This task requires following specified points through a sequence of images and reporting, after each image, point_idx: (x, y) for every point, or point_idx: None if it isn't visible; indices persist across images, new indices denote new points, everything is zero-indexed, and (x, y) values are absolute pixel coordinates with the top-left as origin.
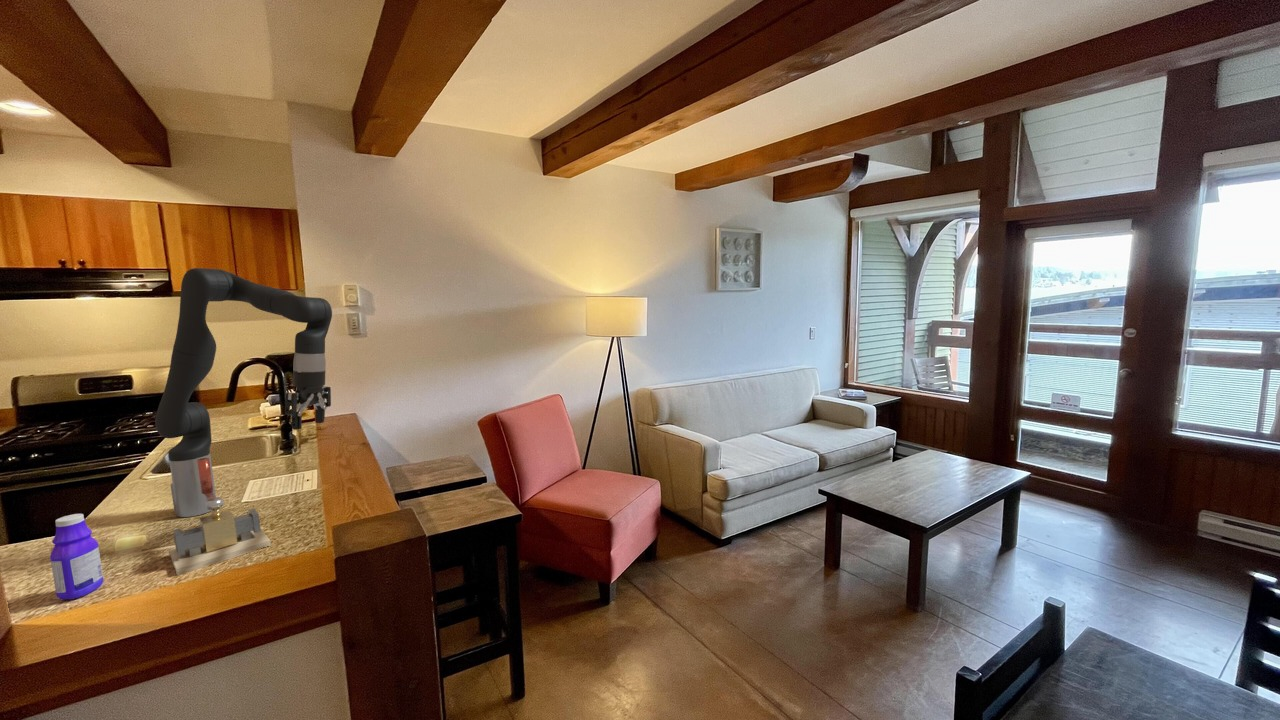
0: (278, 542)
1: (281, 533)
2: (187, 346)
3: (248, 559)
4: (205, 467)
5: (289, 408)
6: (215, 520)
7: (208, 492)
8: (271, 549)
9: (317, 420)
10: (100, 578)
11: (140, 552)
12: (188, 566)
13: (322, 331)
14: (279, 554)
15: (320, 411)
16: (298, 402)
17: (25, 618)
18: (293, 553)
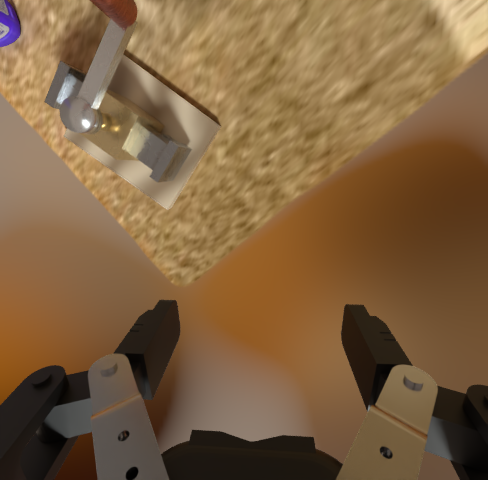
0: (183, 211)
1: (213, 188)
2: None
3: (130, 208)
4: None
5: (37, 422)
6: (91, 137)
7: (116, 24)
8: (161, 218)
9: (347, 322)
10: (4, 36)
11: None
12: (77, 144)
13: None
14: (150, 244)
15: (367, 391)
16: (147, 459)
17: None
18: (156, 263)
